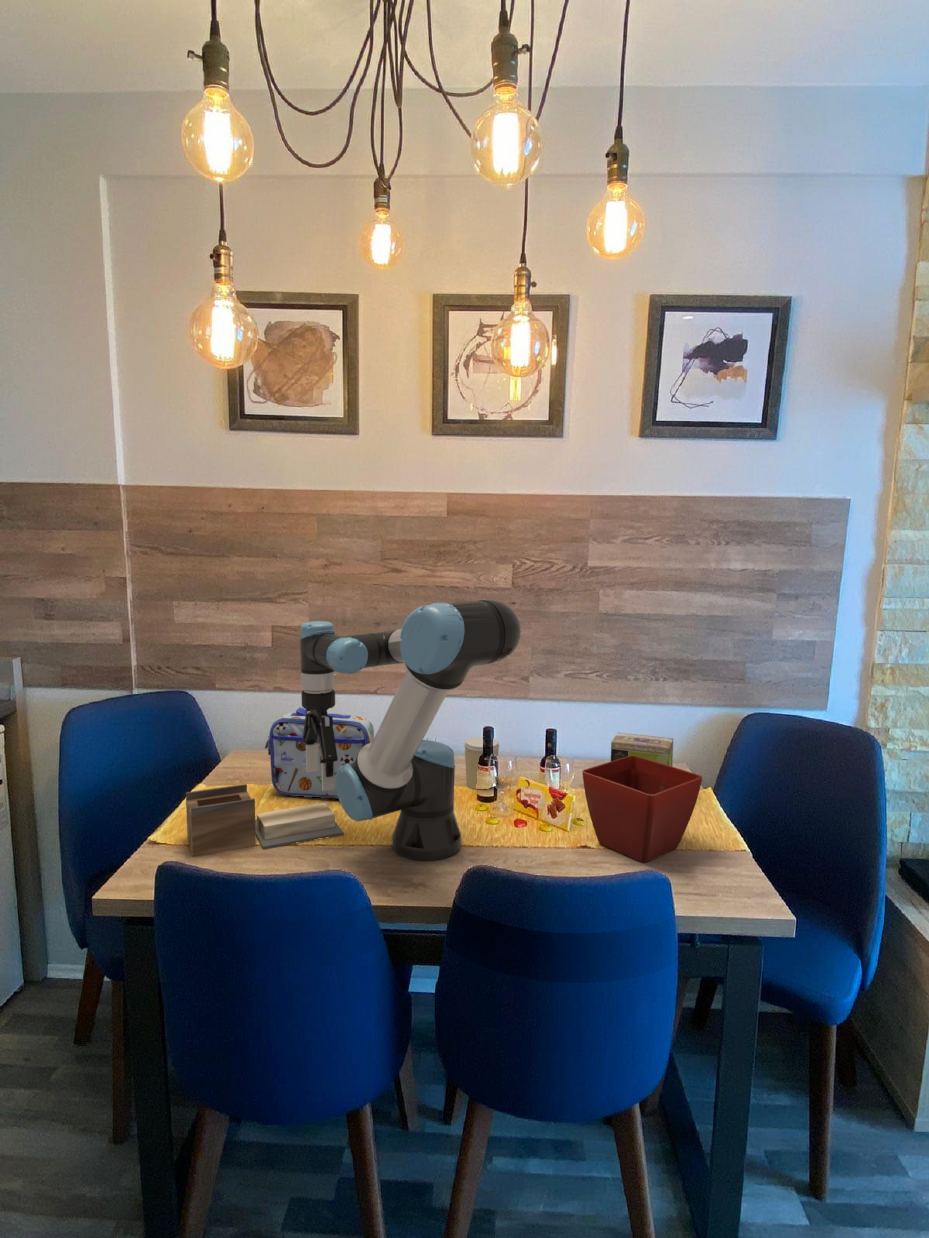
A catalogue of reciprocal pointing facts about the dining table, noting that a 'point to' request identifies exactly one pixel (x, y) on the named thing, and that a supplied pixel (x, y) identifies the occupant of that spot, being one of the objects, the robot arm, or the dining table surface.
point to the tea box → (642, 747)
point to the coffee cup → (475, 758)
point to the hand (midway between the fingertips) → (320, 780)
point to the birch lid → (295, 820)
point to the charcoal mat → (297, 836)
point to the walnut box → (220, 819)
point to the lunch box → (291, 752)
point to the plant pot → (640, 805)
